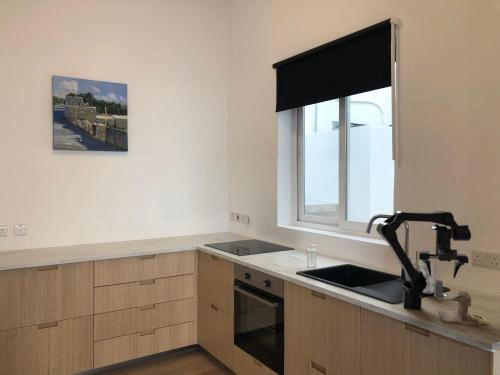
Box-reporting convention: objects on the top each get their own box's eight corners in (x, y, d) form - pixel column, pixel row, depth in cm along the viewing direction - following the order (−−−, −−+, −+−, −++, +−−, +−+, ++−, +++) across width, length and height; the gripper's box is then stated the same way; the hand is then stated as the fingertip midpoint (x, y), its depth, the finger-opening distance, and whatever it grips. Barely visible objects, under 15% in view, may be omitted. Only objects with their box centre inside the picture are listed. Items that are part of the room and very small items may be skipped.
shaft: (435, 300, 162) (435, 281, 161) (434, 297, 164) (434, 279, 164) (463, 302, 158) (464, 283, 158) (462, 300, 161) (462, 281, 161)
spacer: (471, 316, 156) (488, 322, 155) (468, 311, 162) (484, 317, 160) (470, 318, 157) (487, 324, 155) (467, 313, 162) (483, 319, 161)
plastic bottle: (434, 296, 190) (435, 253, 190) (418, 294, 193) (419, 252, 192) (433, 292, 196) (434, 251, 196) (418, 290, 199) (419, 249, 198)
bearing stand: (442, 322, 157) (443, 296, 156) (438, 312, 168) (438, 288, 168) (480, 326, 153) (481, 300, 153) (473, 316, 164) (474, 291, 164)
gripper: (421, 242, 168) (420, 279, 169) (471, 245, 163) (470, 284, 163) (418, 238, 179) (417, 273, 180) (466, 241, 173) (465, 277, 174)
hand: (442, 277), depth 174 cm, fingers open, 9 cm apart
